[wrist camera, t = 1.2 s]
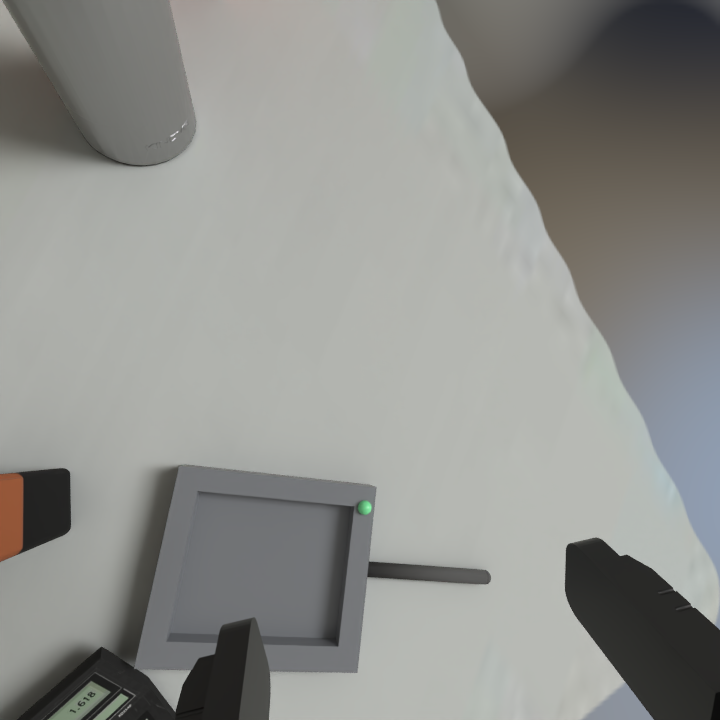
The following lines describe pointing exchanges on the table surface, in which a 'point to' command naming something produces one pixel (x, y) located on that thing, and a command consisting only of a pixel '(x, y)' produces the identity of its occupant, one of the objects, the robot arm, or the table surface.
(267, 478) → the charging cradle
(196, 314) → the table surface
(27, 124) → the table surface
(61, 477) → the battery
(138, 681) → the calculator
